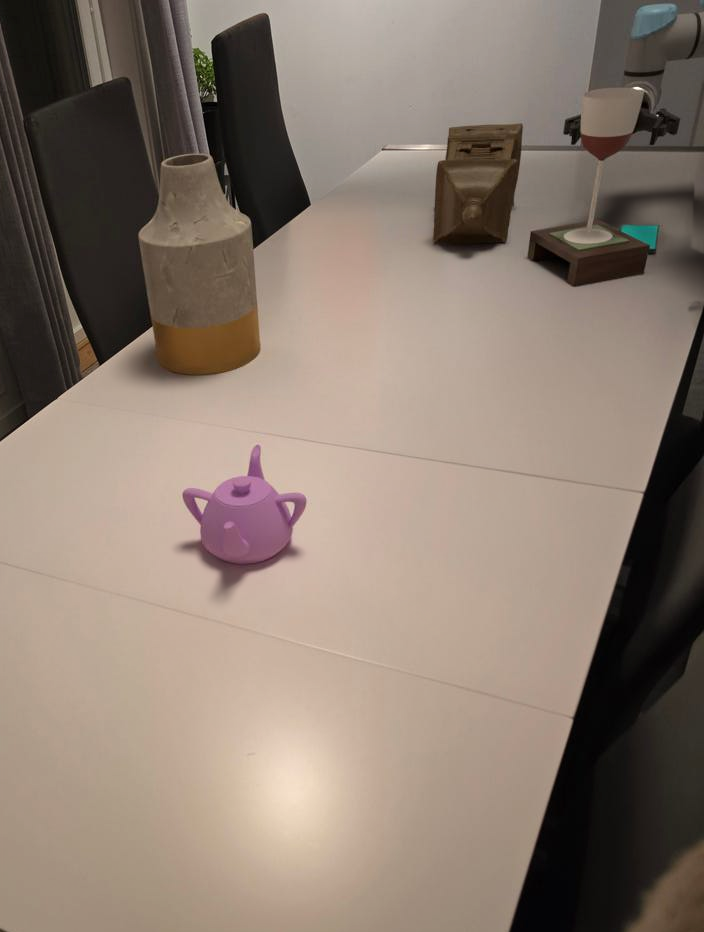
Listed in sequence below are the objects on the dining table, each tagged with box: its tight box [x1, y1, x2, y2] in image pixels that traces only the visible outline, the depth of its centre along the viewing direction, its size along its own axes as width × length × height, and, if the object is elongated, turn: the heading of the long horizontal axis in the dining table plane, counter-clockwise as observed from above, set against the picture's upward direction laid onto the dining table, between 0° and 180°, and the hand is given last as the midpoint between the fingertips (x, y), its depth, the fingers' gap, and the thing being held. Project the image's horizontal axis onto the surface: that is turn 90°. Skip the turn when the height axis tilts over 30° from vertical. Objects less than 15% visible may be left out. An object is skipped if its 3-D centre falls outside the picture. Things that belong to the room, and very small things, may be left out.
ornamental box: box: [432, 122, 524, 244], centre depth 176 cm, size 35×18×18 cm, turn 163°
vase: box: [138, 153, 261, 376], centre depth 138 cm, size 18×18×30 cm
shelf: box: [526, 219, 650, 287], centre depth 159 cm, size 18×14×5 cm
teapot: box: [181, 444, 307, 565], centre depth 101 cm, size 12×14×9 cm
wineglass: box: [564, 87, 644, 244], centre depth 150 cm, size 9×10×23 cm
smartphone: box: [619, 224, 660, 254], centre depth 167 cm, size 7×1×15 cm
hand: (612, 136), depth 153 cm, fingers open, 13 cm apart
